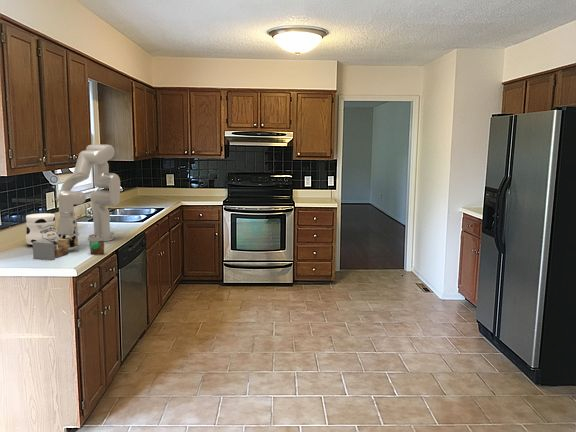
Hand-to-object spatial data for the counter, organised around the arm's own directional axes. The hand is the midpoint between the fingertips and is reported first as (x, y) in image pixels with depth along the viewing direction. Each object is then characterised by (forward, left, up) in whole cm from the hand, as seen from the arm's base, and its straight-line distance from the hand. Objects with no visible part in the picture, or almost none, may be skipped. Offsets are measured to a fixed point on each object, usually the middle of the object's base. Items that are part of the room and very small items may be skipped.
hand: (68, 246), depth 269 cm
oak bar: (0, 0, 0) cm, 0 cm away
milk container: (-10, -27, -3) cm, 29 cm away
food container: (-1, +17, -3) cm, 17 cm away
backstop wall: (+18, 0, -3) cm, 19 cm away
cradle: (+9, 0, -3) cm, 10 cm away
